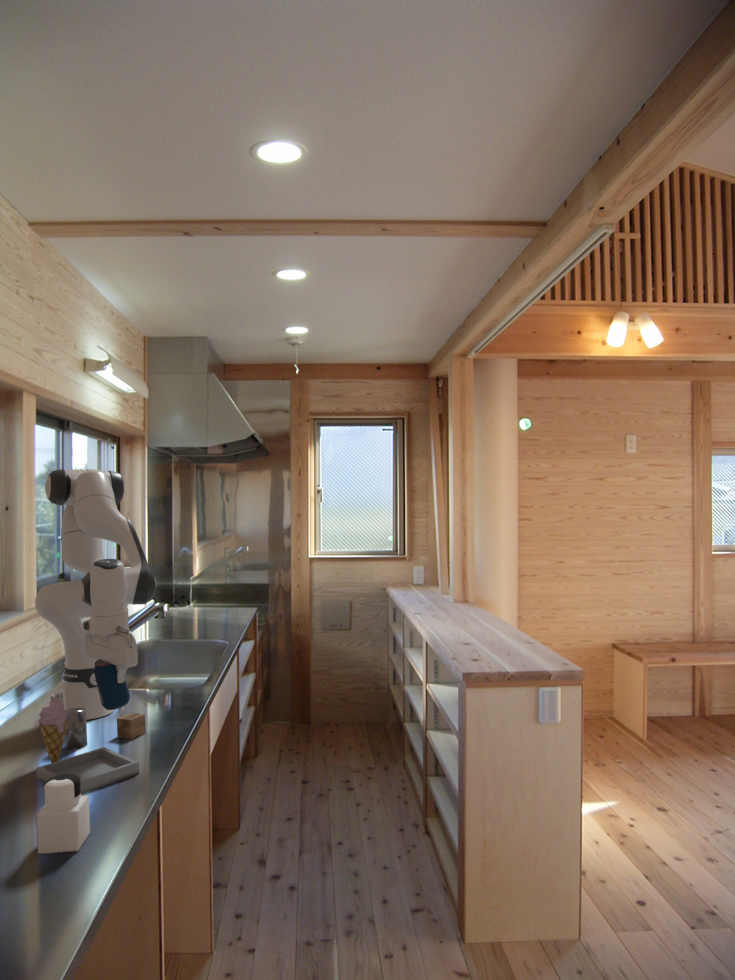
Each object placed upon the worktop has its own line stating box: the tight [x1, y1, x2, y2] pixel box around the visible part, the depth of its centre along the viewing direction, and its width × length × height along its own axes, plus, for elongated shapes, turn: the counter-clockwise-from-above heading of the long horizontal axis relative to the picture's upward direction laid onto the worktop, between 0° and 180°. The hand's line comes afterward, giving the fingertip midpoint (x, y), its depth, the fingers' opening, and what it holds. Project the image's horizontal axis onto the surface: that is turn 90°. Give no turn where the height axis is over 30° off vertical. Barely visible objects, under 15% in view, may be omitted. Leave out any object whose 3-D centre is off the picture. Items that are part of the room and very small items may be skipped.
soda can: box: [94, 659, 131, 711], centre depth 180 cm, size 7×7×12 cm
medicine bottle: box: [35, 774, 91, 855], centre depth 131 cm, size 7×7×12 cm
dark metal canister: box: [65, 708, 88, 750], centre depth 183 cm, size 5×5×9 cm
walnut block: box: [116, 712, 146, 740], centre depth 190 cm, size 5×5×5 cm
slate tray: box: [36, 747, 140, 795], centre depth 162 cm, size 16×16×3 cm
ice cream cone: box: [38, 699, 68, 763], centre depth 171 cm, size 7×6×15 cm
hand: (112, 679), depth 180 cm, fingers closed on soda can, 7 cm apart
